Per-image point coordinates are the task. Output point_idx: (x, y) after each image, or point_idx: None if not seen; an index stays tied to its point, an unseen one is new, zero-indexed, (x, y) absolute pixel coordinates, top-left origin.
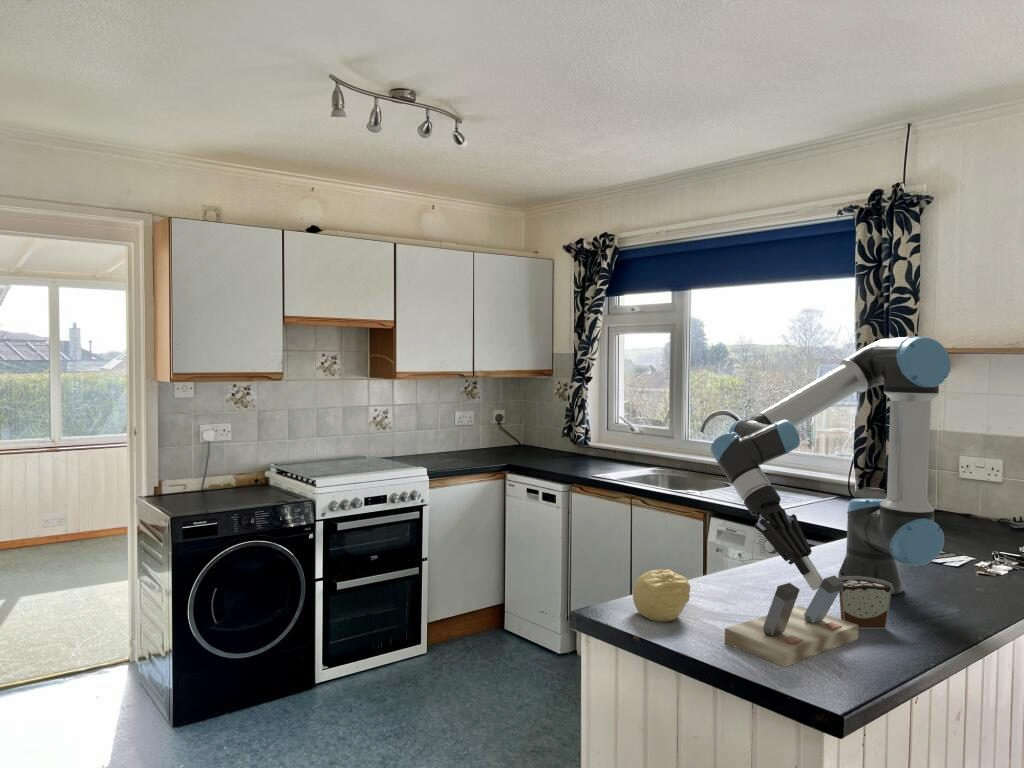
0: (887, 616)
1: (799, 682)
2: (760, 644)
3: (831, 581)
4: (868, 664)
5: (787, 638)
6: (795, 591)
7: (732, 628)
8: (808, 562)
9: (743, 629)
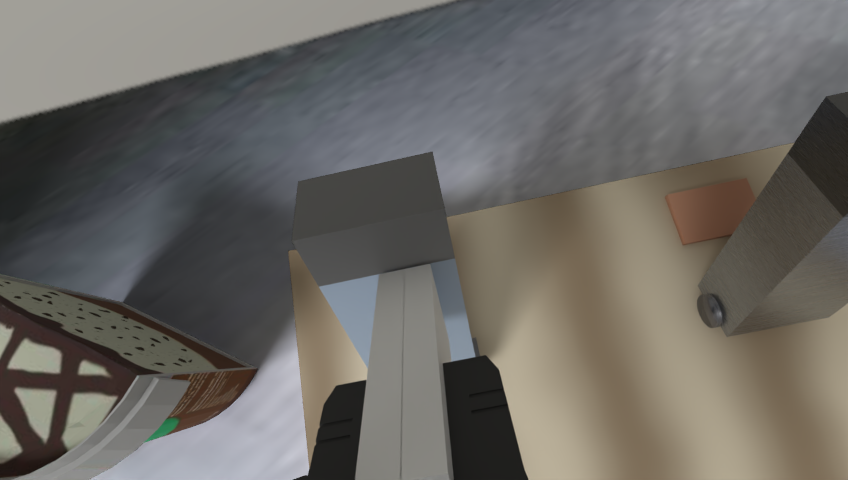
0: (79, 292)
1: (805, 66)
2: None
3: (400, 187)
4: (468, 100)
5: (732, 224)
6: None
7: None
8: (419, 404)
9: None
